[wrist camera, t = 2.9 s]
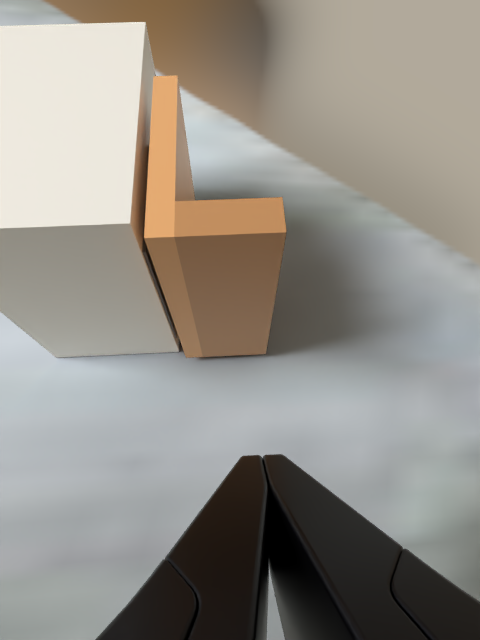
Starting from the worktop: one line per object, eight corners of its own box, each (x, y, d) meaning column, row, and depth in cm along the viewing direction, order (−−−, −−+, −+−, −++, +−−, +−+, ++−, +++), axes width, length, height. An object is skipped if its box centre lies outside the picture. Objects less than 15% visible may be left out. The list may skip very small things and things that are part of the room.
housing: (181, 351, 20) (133, 223, 11) (55, 357, 20) (-96, 232, 11) (182, 186, 25) (149, -3, 16) (80, 190, 24) (-14, 2, 15)
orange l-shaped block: (265, 353, 20) (286, 232, 11) (185, 357, 20) (143, 237, 11) (256, 241, 22) (267, 72, 14) (186, 244, 22) (153, 76, 14)
